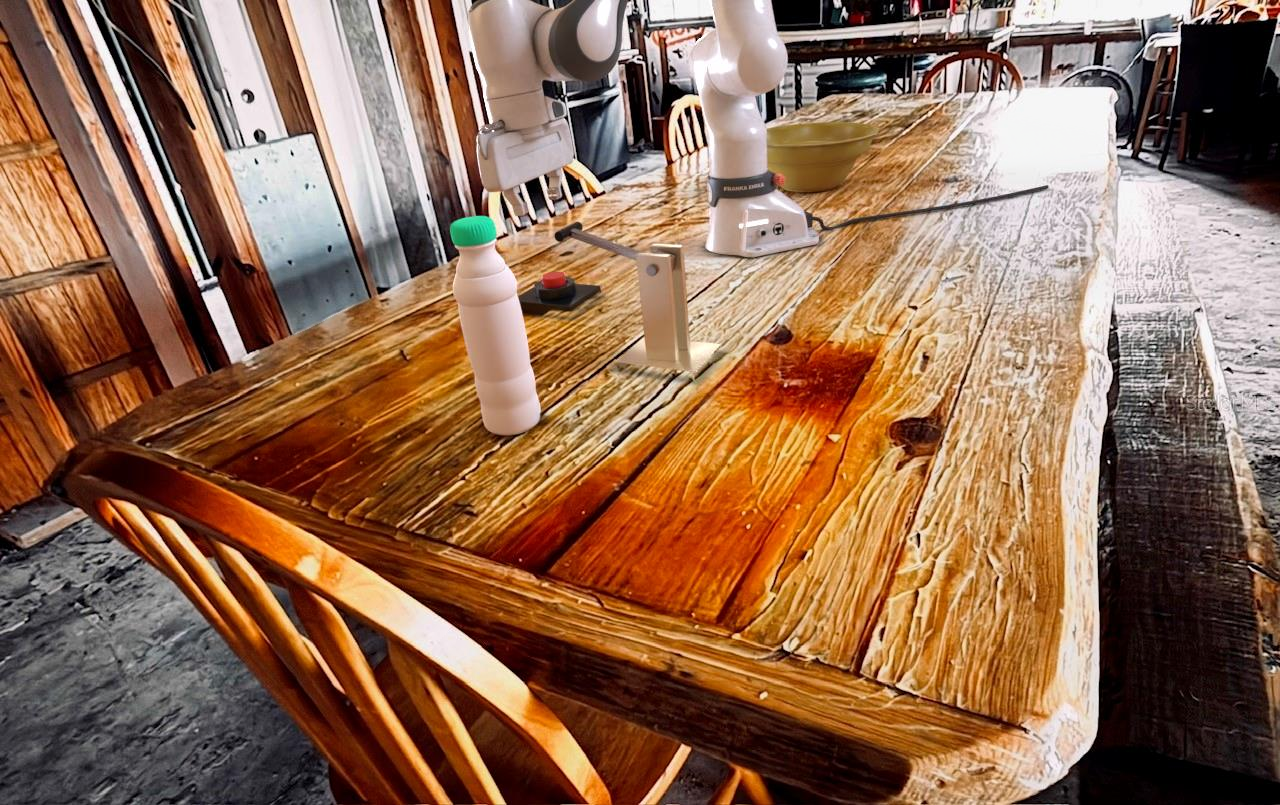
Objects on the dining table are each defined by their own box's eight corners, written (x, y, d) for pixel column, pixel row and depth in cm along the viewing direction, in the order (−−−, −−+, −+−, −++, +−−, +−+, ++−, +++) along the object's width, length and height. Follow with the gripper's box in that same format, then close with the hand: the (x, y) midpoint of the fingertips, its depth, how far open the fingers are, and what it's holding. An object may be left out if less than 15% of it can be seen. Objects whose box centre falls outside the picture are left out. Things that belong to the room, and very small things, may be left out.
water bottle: (488, 412, 89) (442, 215, 77) (543, 405, 90) (506, 208, 78) (482, 441, 83) (431, 232, 71) (541, 433, 83) (501, 223, 72)
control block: (513, 312, 121) (508, 290, 119) (545, 292, 128) (541, 271, 127) (572, 318, 116) (568, 295, 114) (602, 297, 123) (599, 275, 121)
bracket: (616, 370, 97) (602, 258, 89) (645, 344, 104) (634, 238, 96) (696, 381, 91) (688, 263, 84) (721, 352, 98) (716, 241, 91)
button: (538, 288, 120) (536, 278, 119) (551, 280, 123) (549, 270, 122) (558, 289, 118) (556, 279, 117) (570, 282, 121) (569, 272, 120)
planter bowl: (892, 194, 167) (897, 134, 160) (756, 207, 168) (755, 148, 162) (856, 169, 195) (859, 117, 189) (740, 180, 197) (739, 129, 190)
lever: (553, 243, 94) (554, 226, 93) (573, 233, 98) (574, 216, 96) (660, 281, 89) (664, 264, 88) (677, 269, 93) (680, 252, 92)
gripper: (491, 125, 97) (516, 224, 103) (571, 102, 112) (588, 189, 119) (457, 130, 100) (483, 226, 106) (539, 106, 115) (558, 191, 122)
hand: (539, 206), depth 113 cm, fingers open, 8 cm apart
